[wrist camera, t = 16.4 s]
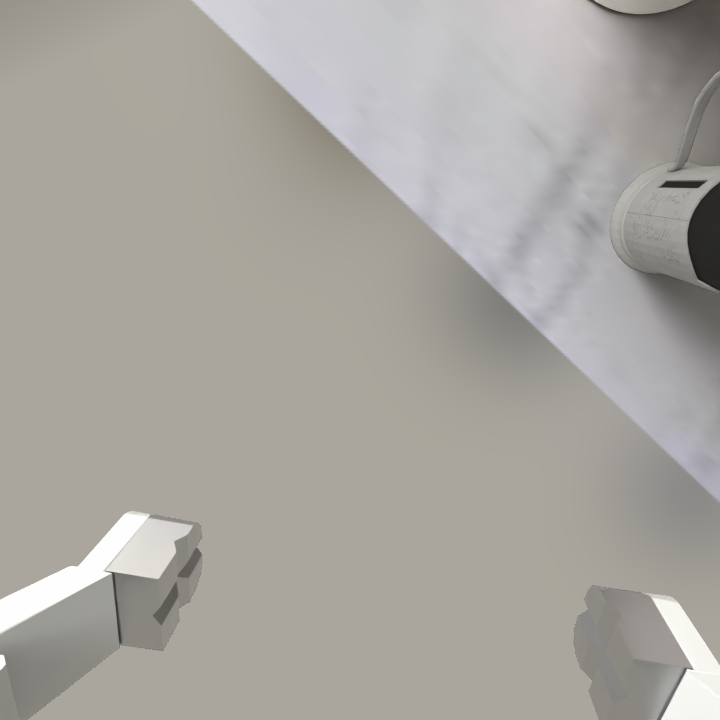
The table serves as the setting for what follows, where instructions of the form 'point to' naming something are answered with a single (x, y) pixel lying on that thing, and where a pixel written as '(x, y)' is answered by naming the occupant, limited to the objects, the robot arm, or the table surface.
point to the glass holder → (674, 214)
